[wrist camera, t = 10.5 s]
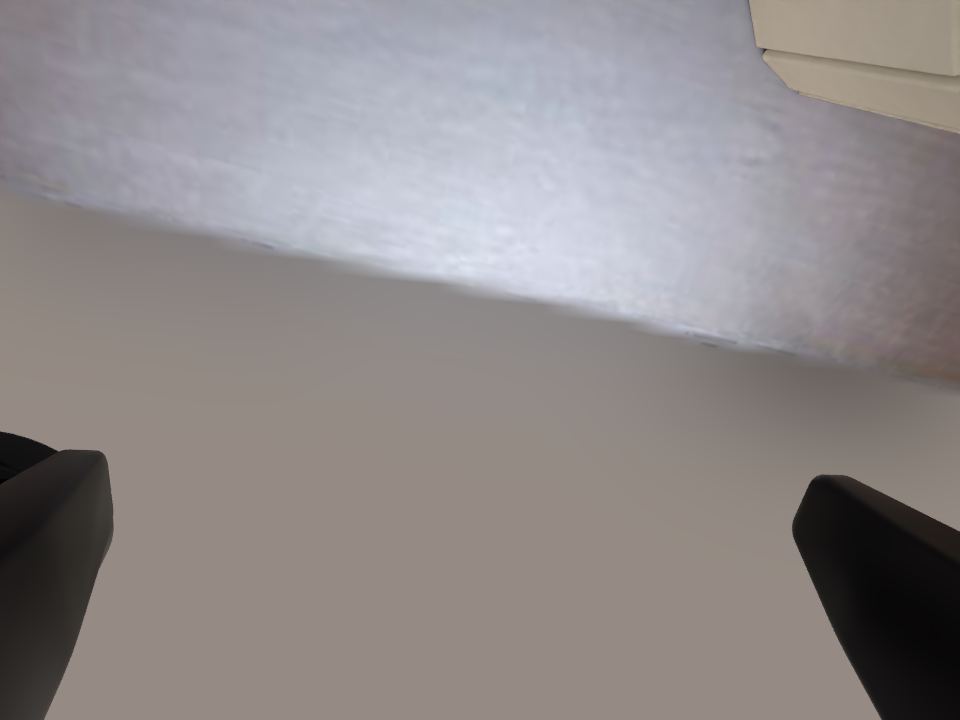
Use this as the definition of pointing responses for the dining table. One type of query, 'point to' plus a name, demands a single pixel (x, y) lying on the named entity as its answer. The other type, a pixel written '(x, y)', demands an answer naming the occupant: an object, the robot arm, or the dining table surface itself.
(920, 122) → the beige fluted tube
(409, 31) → the dining table surface
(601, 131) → the dining table surface
